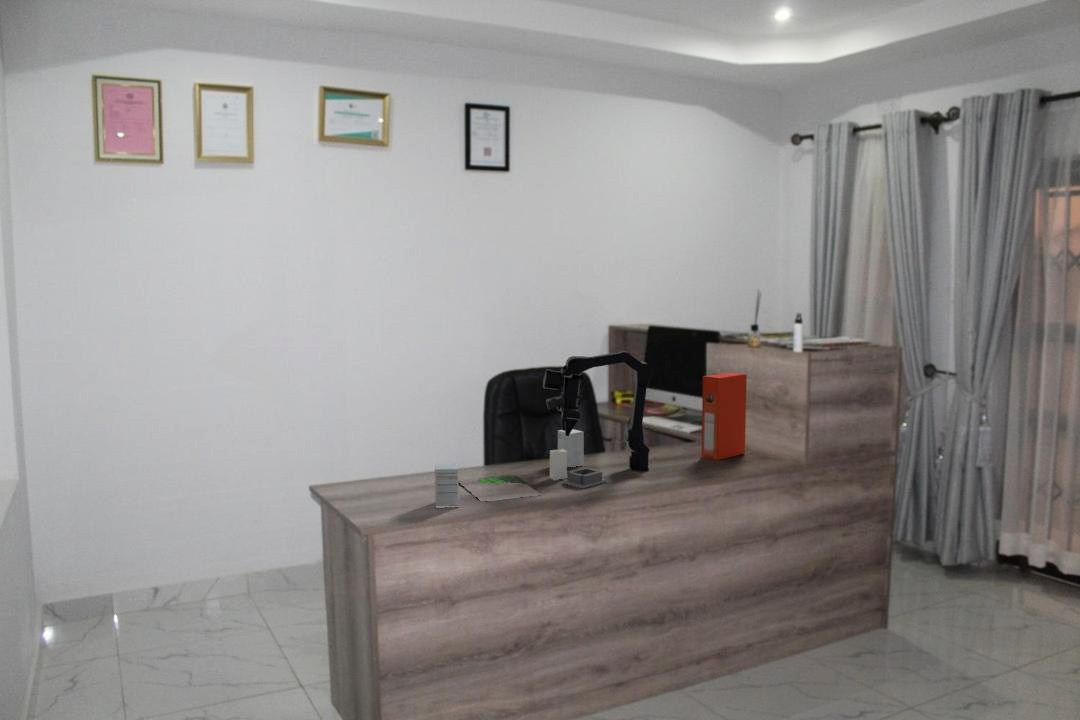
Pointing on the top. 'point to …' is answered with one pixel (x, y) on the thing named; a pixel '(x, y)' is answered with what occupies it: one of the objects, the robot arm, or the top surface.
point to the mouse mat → (502, 480)
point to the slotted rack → (584, 477)
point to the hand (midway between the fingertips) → (565, 433)
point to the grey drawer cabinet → (446, 485)
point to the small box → (572, 447)
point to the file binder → (723, 415)
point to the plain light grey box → (558, 464)
